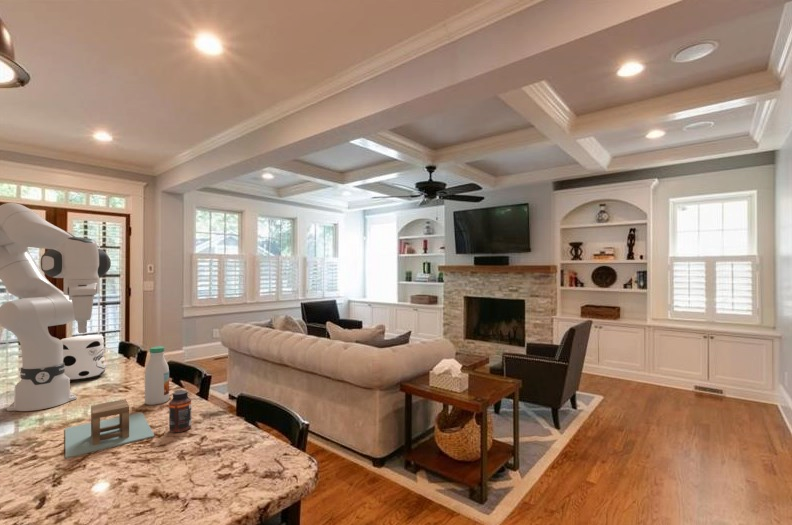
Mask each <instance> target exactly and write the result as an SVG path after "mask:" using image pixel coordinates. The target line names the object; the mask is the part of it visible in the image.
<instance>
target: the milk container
mask: <svg viewBox="0 0 792 525" xmlns="http://www.w3.org/2000/svg"><path fill="white" fill-rule="evenodd" d="M60 340H61V341H62V343H63V362H64V363H65V372H64V374H65V375H66V376H68V377H69V378H70V382H79V381H86V380H90V379H93V378H97V377H100V376H101V375H103V374H105V373H106V370H107V369H106V367H107V362H106V358H105V355H104V351H105V350H104V343H105V341H104V340H105V339H104V336H103V335H100V334H99V335H98V334H96V335H95V334H93V335H91V334H89V335H78V336H70V337H66V338H64V337H63V338H62V339H60Z"/></svg>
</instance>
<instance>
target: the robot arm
mask: <svg viewBox="0 0 792 525" xmlns="http://www.w3.org/2000/svg"><path fill="white" fill-rule="evenodd" d="M29 248H33V249H46V251H45V252H44V253H43V254H42V255H41V258H40V267H39V265H38V264H37V262H36V260H35V258H34V257H33V256H32V255H31V253H30V252H29ZM111 264H112V262H111V259H110V256H109V255H108V254H107V252H106V251H105V250H103V249H102V248H99V247H98V244H97V241H96V240H94V239H92V238H90V237H89V238H88V237H87V238H86V237H81V236H79V237H77V236H75V235H74V234H72V233H70V232H68V231H66V230H64V229H62V228H60V227H58V226H56V225H55V224H52V223H51V222H49V221H47V220H46V219H44V218H43V217H42V216H40V215H39V214H38V213H37V212H35V211H33V210H32V209H30V208H29V207H26V206H25V205H23V204H20V203H16V202H7V203H3V204H1V205H0V280H1V282H2V284H3V286H4V287H5V289H6V291H7V292H8V293H9V294H11V295H12V296H14V297H17V299H14V300H9V301H6V302H4V303H2V305H1V306H0V326H1V327H2V329H3V328H4V330H5V329H6V330H8V331H10V332H11V333H12V334H13V335H14V336H15V337H16V338H17V340H18V342H19V344H20V348H21V361H22V362H21V363H22V366H21V368H20V381H19V382H17V383H16V384H15V385H14V388H13V389H14V397H13V399H14V400H13V402H12V403H11V404H10V405H9V406H7V407H6V411H8V412H10V411H12V412H13V411H18V412H30V411H32V412H33V411H39V410H44V409H49V408H54V407H57V406H61V405H63V404H66V403H68V402H70V401H75V400H76V399H77V395H76V394H74V393H73V392H72V391H71V383H70V382H71V381H70V378H69V377H68V376H66V375H65V374H64V372H65V363H64V362H63V343H62V341H61V339H59V338H57V337H55V336H52V335H51V334H50V332H49V328H48V327H53V326H59V325H65V324H69V323H71V322H77V333H79V334H84V333H86V331H87V330H86V328H87V321H90V320H91V317H92V312H93V306H94V305H93V304H94V299H95V296H96V295H97V294H99V293H100V278H103V276H104V275H106V274H107V273H108V272H109V270H110V268H111ZM40 268H41V269H40ZM44 274H45V275H46V276H45V275H44ZM47 276H48V277H49V278H54V279H63V290H61V289H60V288H58V287H57V286H56V285H54V284H53V283H51V282H50V281H49V279H47Z"/></svg>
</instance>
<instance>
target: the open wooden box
mask: <svg viewBox="0 0 792 525" xmlns="http://www.w3.org/2000/svg"><path fill="white" fill-rule="evenodd" d="M116 415H119V416H118V417H119V424H117V425H113V426H108V427H103V428H100V421H101V419H102V418H107V417H112V416H116ZM129 415H130V405H129V403H128V400H127V399H126V398H124V399H118V400H114V401H109V402H103V403H97V404H92V405H90V421H91V422H90V423H91V437H92V444H93V445H97V444H100V441H102V440H106V439H110V438H115V437H119V436H122V438H127V437H129ZM115 429H119V430H120V432H116V433H112V434H107V435H103V436H100V433H101V432H106V431H110V430H115Z"/></svg>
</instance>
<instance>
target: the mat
mask: <svg viewBox="0 0 792 525" xmlns="http://www.w3.org/2000/svg"><path fill="white" fill-rule="evenodd" d="M117 424H119V416H118V417H113V418H108V419H103V420H100V428H103V427H108V426H113V425H117ZM116 432H120V430H119V429H115V430H110V431H106V432H101V433H100V436H103V435H107V434H112V433H116ZM154 437H156V436H155V433H154V431H153V430H152V428H151V426H150V424H149V423H148V421H147V419H146V417H145V415H144V413H143V412H136V413H133V414H129V437H127V438H122V436H119V437H115V438H110V439H106V440H102V441H100V444H97V445H93V444H92V437H91V422H88V423H84V424H79V425H73V426H69V427H65V429H64V438H65V439H64V445H65V447H64V448H65V449H64V450H65V454H64V456H65V459H69V458H73V457H77V456H81V455H86V454H89V453H90V454H91V453H94V452H98V451H101V450H105V449H110V448H114V447H119V446H121V445H126V444H130V443H135V442H138V441H144V440H146V439H150V438H151V439H152V438H154Z"/></svg>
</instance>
